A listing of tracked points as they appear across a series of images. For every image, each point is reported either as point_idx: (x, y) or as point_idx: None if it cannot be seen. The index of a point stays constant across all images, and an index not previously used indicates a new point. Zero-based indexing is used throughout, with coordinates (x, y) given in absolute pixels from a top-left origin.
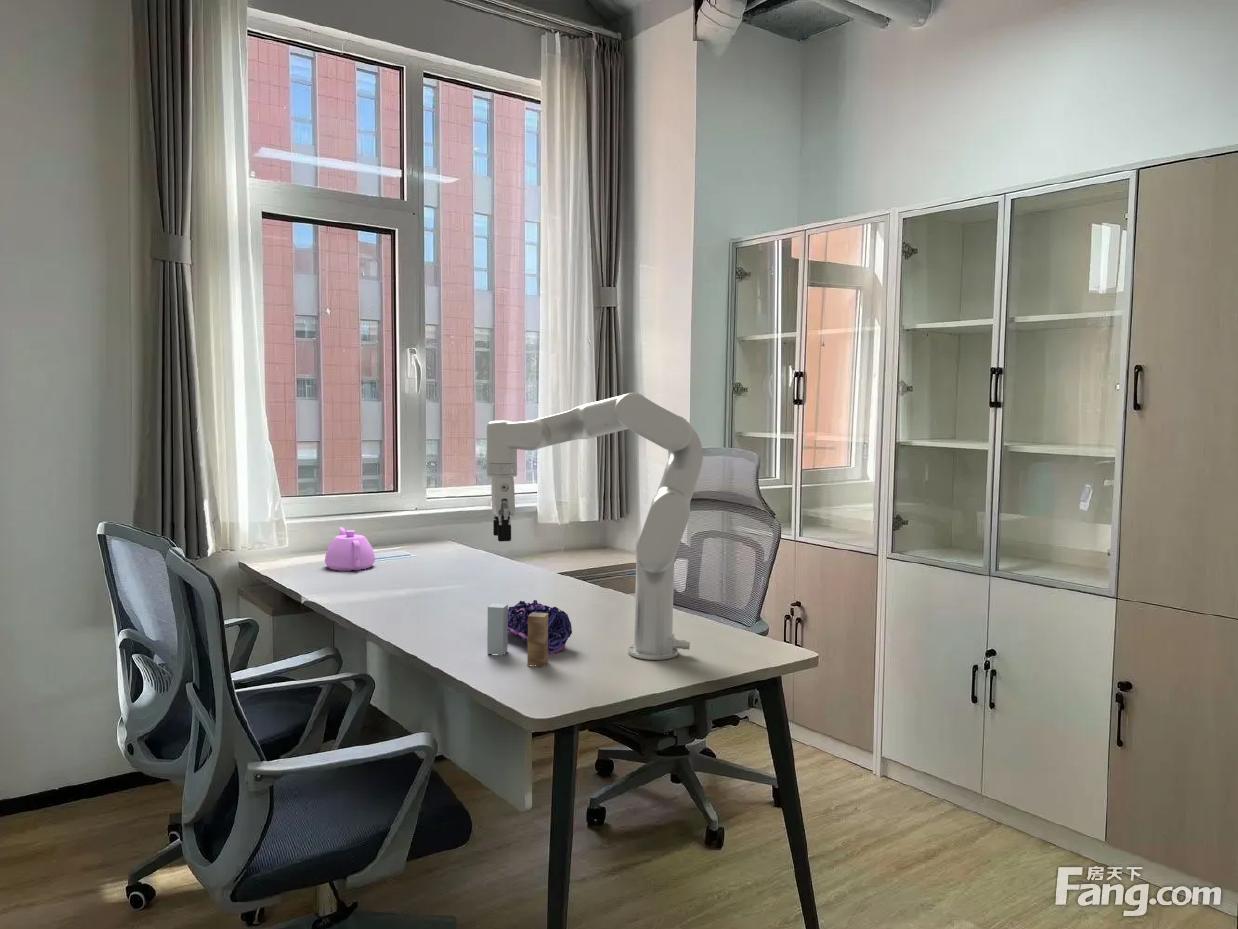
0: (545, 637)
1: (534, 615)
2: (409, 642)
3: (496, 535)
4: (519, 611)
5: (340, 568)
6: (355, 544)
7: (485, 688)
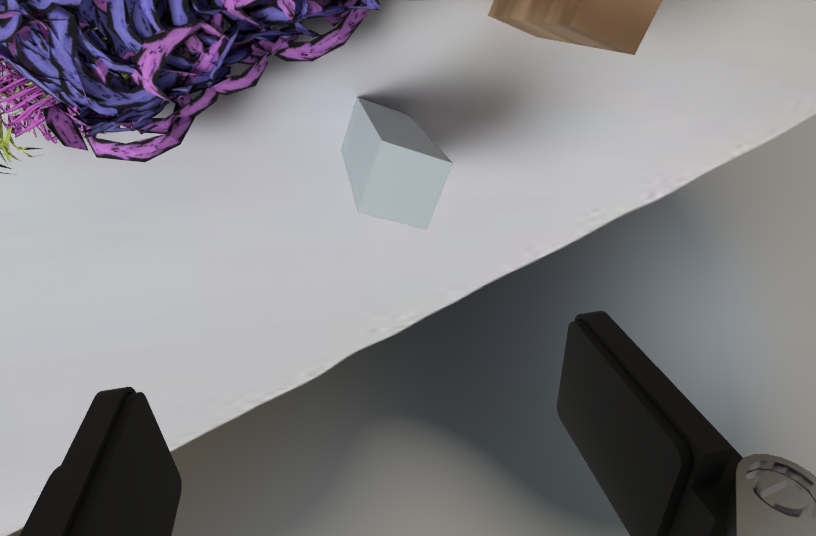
0: None
1: (633, 19)
2: (239, 379)
3: (168, 464)
4: (163, 52)
5: None
6: None
7: (685, 167)
